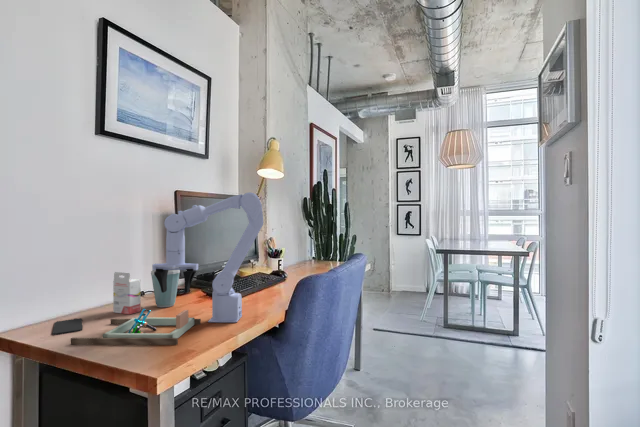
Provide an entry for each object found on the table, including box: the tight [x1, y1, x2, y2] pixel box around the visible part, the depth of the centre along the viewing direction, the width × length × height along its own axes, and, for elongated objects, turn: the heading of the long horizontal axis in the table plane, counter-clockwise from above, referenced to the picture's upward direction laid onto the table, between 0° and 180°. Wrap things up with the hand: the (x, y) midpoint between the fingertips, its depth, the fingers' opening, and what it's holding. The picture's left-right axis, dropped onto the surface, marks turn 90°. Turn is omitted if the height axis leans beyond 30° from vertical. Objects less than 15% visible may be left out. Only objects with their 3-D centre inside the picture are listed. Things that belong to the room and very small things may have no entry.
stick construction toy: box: [127, 308, 157, 333], centre depth 103 cm, size 12×7×8 cm
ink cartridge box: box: [112, 271, 142, 316], centre depth 127 cm, size 9×5×15 cm, turn 68°
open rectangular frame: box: [102, 309, 195, 339], centre depth 103 cm, size 19×16×6 cm
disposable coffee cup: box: [150, 269, 181, 308], centre depth 135 cm, size 11×11×15 cm
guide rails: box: [70, 318, 202, 346], centre depth 103 cm, size 29×18×2 cm, turn 89°
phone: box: [52, 317, 84, 336], centre depth 110 cm, size 7×1×15 cm
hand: (175, 291), depth 114 cm, fingers open, 7 cm apart
